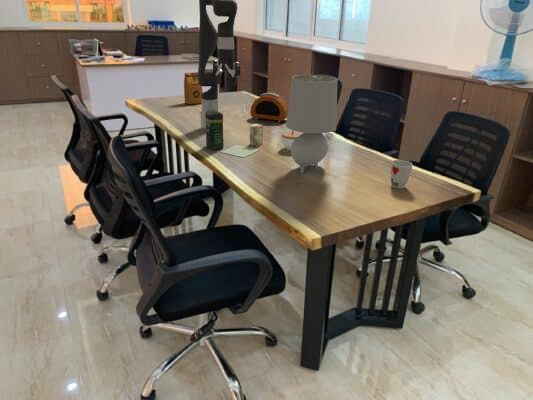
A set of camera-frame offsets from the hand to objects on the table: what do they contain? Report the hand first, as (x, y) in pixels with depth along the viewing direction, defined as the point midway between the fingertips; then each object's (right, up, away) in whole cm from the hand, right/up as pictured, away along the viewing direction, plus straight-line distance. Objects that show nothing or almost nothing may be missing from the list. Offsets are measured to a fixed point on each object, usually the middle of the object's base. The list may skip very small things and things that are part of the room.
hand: (226, 84), depth 195 cm
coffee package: (-34, +16, +108) cm, 114 cm away
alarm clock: (+21, -3, +71) cm, 74 cm away
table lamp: (+37, -40, -7) cm, 55 cm away
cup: (+73, -48, -23) cm, 91 cm away
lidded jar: (+32, -28, +18) cm, 46 cm away
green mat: (+6, -30, +11) cm, 33 cm away
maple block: (+13, -25, +23) cm, 36 cm away
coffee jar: (-7, -27, +16) cm, 33 cm away
